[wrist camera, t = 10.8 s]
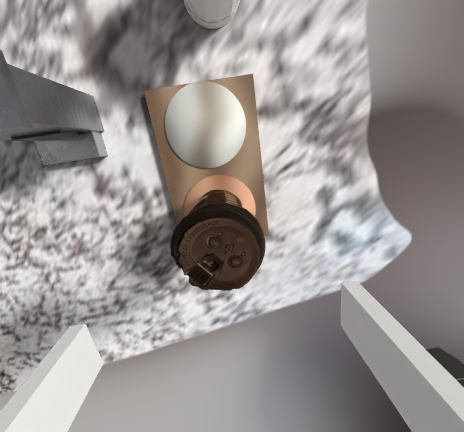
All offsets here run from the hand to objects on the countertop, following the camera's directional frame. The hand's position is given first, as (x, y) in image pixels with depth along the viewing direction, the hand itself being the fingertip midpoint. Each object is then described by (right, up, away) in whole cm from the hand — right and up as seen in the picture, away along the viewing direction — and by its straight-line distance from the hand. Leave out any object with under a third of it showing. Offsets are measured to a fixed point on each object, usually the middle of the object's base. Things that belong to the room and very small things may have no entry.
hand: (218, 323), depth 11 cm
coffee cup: (-1, +6, +19) cm, 20 cm away
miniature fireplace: (-20, +17, +16) cm, 31 cm away
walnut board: (-2, +12, +19) cm, 22 cm away
